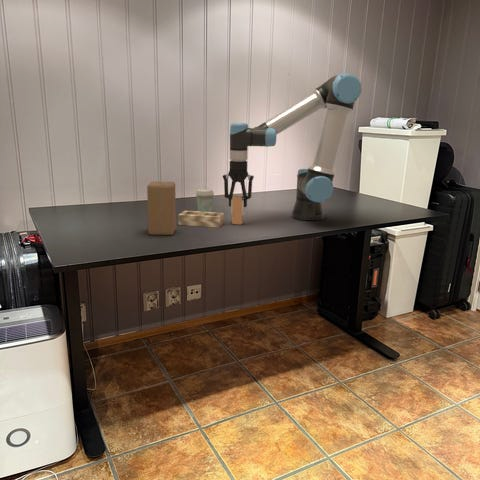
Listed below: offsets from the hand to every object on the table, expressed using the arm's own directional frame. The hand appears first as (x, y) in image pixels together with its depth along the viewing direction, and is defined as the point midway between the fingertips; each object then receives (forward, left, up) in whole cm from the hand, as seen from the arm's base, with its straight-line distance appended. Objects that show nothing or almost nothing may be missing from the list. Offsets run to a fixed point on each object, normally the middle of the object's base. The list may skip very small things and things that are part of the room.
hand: (237, 213), depth 205 cm
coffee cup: (+18, -13, -5) cm, 23 cm away
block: (+27, +23, -5) cm, 35 cm away
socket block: (+15, +5, -4) cm, 16 cm away
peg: (0, 0, -4) cm, 4 cm away
